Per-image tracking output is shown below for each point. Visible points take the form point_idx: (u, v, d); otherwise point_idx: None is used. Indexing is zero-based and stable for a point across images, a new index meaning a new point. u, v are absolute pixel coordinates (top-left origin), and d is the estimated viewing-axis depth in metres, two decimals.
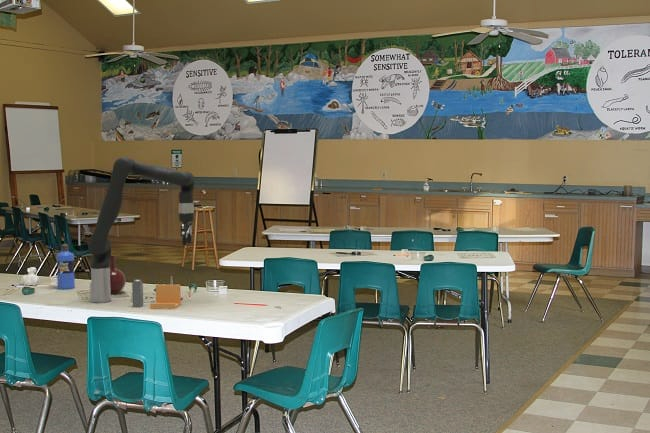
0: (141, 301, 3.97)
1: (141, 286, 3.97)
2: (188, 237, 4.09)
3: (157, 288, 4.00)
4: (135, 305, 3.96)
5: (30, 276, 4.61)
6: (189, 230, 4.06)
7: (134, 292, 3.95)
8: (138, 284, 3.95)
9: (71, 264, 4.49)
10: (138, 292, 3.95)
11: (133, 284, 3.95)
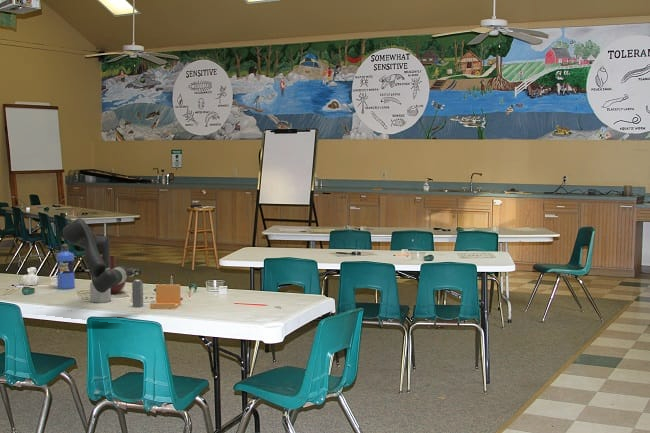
0: (141, 301, 3.97)
1: (141, 286, 3.97)
2: None
3: (157, 288, 4.00)
4: (135, 305, 3.96)
5: (30, 276, 4.61)
6: None
7: (134, 292, 3.95)
8: (138, 284, 3.95)
9: (71, 264, 4.49)
10: (138, 292, 3.95)
11: (133, 284, 3.95)
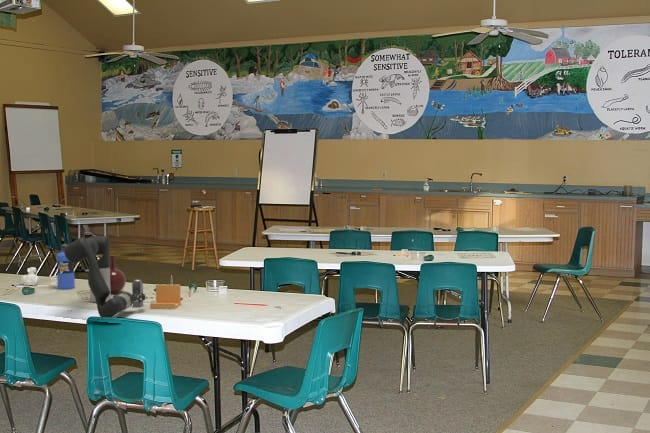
0: None
1: (141, 286, 3.97)
2: None
3: (157, 288, 4.00)
4: (135, 305, 3.96)
5: (30, 276, 4.61)
6: None
7: (134, 292, 3.95)
8: (138, 284, 3.95)
9: (71, 264, 4.49)
10: (138, 292, 3.95)
11: (133, 284, 3.95)
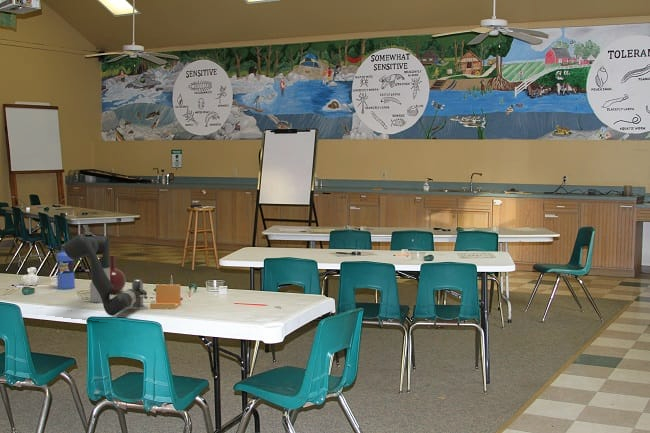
0: (141, 301, 3.97)
1: (141, 286, 3.97)
2: None
3: (157, 288, 4.00)
4: (135, 305, 3.96)
5: (30, 276, 4.61)
6: None
7: None
8: (138, 284, 3.95)
9: (71, 264, 4.49)
10: None
11: (133, 284, 3.95)
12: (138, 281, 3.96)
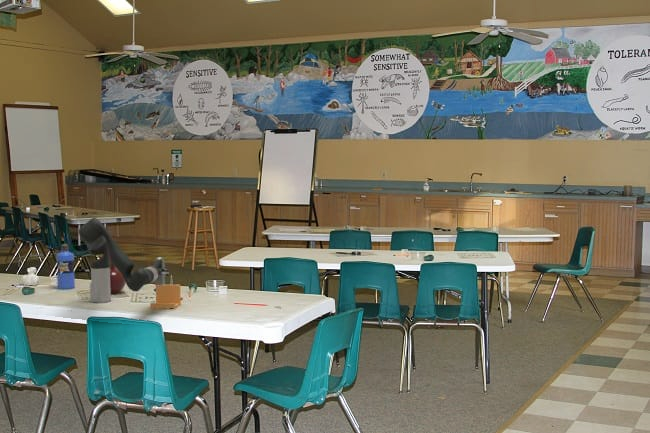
0: (163, 279, 3.93)
1: (163, 264, 3.93)
2: None
3: (157, 288, 4.00)
4: (157, 283, 3.92)
5: (30, 276, 4.61)
6: None
7: None
8: (160, 261, 3.92)
9: (71, 264, 4.49)
10: None
11: (155, 261, 3.92)
12: (160, 259, 3.92)
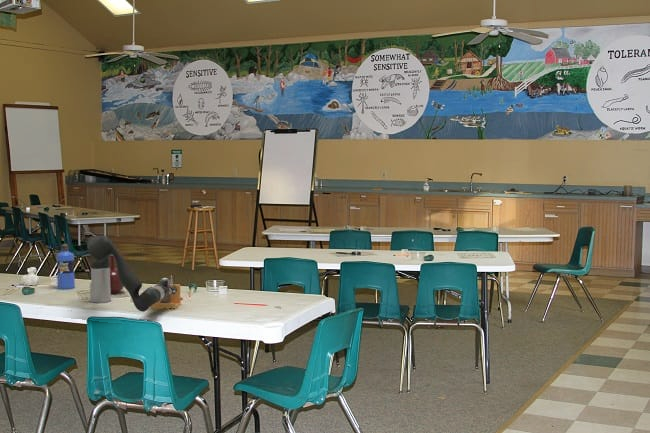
0: (169, 299, 3.95)
1: (169, 284, 3.95)
2: None
3: None
4: None
5: (30, 276, 4.61)
6: None
7: None
8: (166, 282, 3.93)
9: (71, 264, 4.49)
10: None
11: (161, 282, 3.93)
12: (166, 279, 3.94)
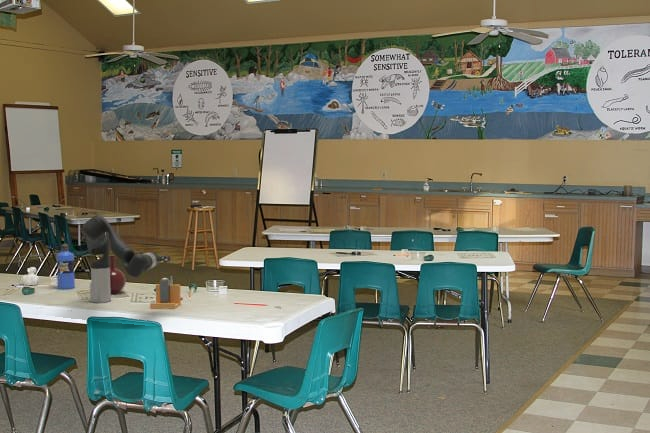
0: (169, 299, 3.95)
1: (168, 284, 3.95)
2: None
3: (157, 288, 4.00)
4: None
5: (30, 276, 4.61)
6: None
7: (161, 291, 3.93)
8: (166, 282, 3.93)
9: (71, 264, 4.49)
10: (166, 291, 3.93)
11: (161, 282, 3.93)
12: (166, 279, 3.94)
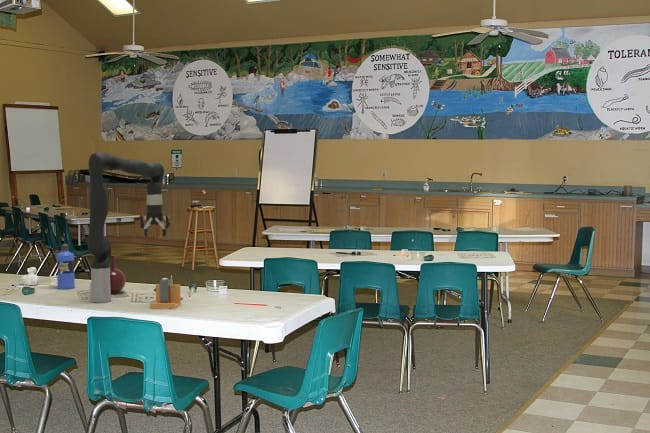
0: (169, 299, 3.95)
1: (168, 284, 3.95)
2: None
3: (157, 288, 4.00)
4: None
5: (30, 276, 4.61)
6: (156, 223, 3.94)
7: (161, 291, 3.93)
8: (166, 282, 3.93)
9: (71, 264, 4.49)
10: (166, 291, 3.93)
11: (161, 282, 3.93)
12: (166, 279, 3.94)
